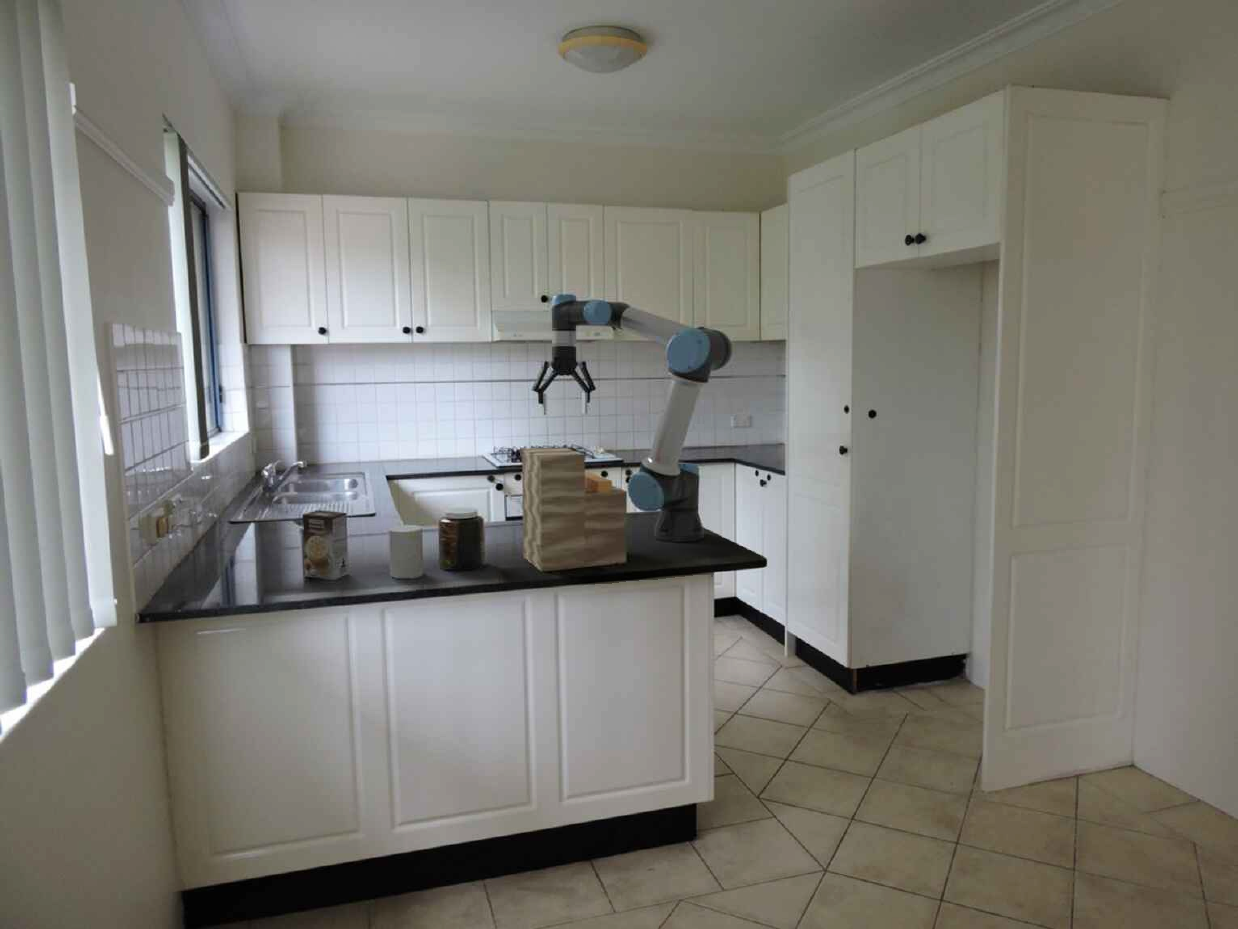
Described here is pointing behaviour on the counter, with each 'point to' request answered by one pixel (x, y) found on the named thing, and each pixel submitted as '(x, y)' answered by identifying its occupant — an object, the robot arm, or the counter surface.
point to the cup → (406, 551)
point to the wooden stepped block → (569, 513)
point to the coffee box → (325, 544)
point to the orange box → (597, 483)
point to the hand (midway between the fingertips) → (564, 414)
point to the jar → (461, 540)
